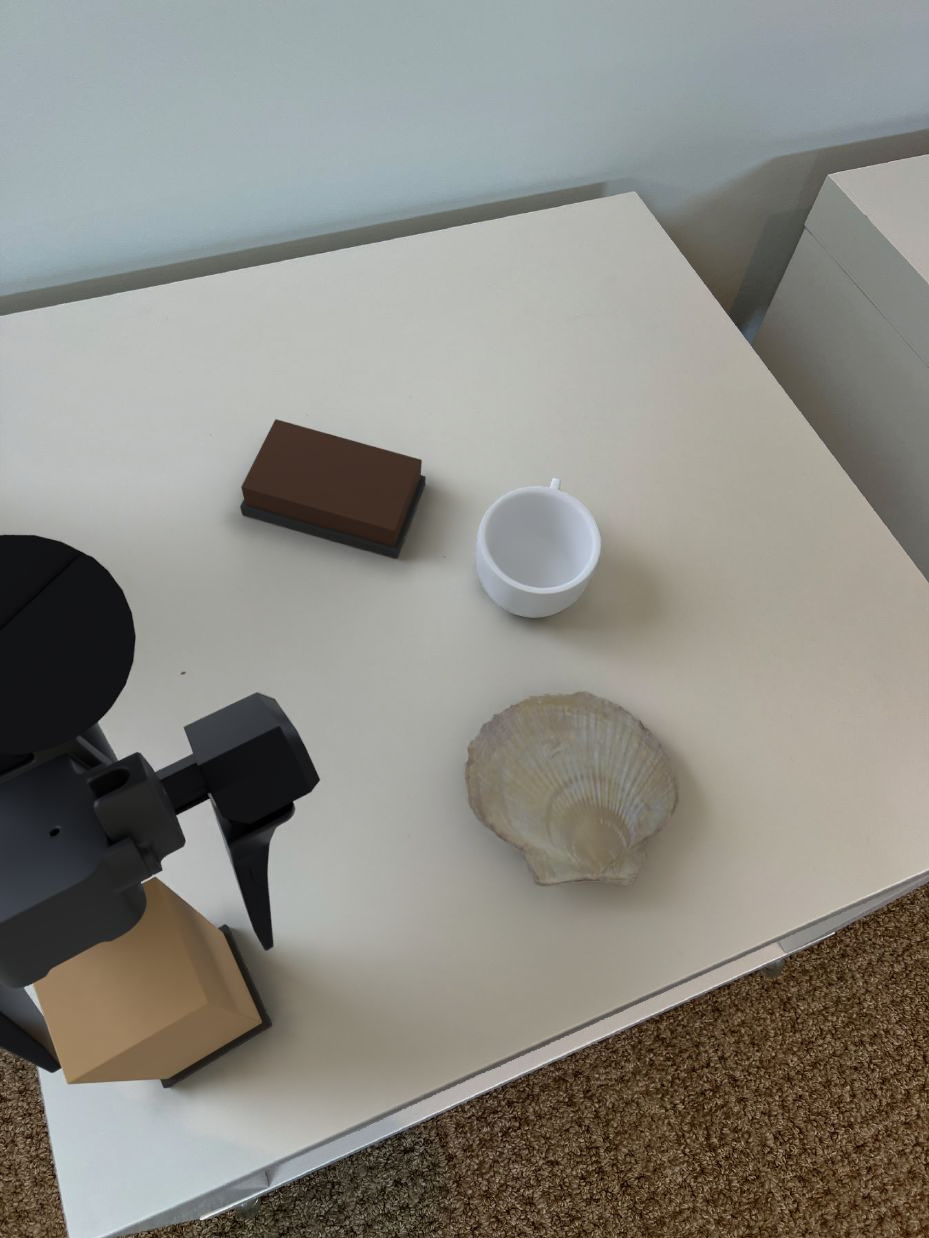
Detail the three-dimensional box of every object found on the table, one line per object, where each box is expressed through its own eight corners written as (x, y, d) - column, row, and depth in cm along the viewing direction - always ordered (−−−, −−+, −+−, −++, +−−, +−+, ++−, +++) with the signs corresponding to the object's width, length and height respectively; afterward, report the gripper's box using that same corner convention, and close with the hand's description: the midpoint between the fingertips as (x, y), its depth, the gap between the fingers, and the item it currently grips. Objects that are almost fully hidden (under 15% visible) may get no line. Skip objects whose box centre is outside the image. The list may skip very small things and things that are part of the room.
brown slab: (241, 515, 58) (234, 488, 56) (277, 443, 61) (272, 414, 59) (397, 559, 58) (397, 535, 55) (425, 484, 61) (427, 457, 58)
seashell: (550, 664, 55) (558, 644, 53) (700, 786, 52) (716, 771, 50) (427, 796, 51) (428, 781, 48) (583, 937, 48) (594, 930, 45)
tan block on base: (168, 1088, 43) (60, 1099, 28) (127, 982, 45) (8, 943, 31) (273, 1025, 44) (220, 1006, 30) (228, 925, 46) (160, 864, 32)
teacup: (570, 647, 56) (588, 608, 51) (456, 615, 56) (463, 573, 51) (600, 524, 60) (619, 478, 56) (495, 495, 61) (504, 447, 56)
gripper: (-444, 956, 21) (-96, 1328, 27) (270, 631, 26) (431, 998, 32) (-283, 777, 31) (-54, 1077, 36) (213, 567, 36) (344, 857, 42)
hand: (166, 1001), depth 36 cm, fingers open, 9 cm apart
